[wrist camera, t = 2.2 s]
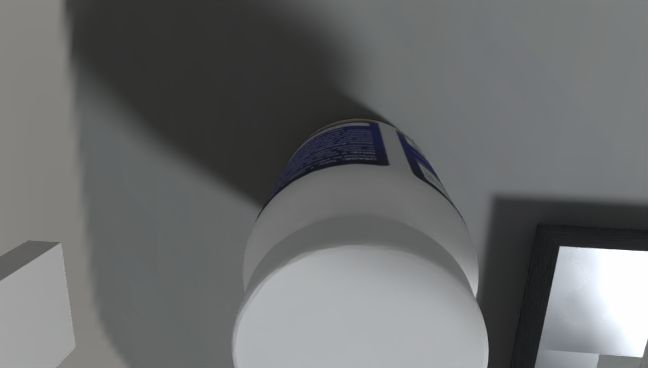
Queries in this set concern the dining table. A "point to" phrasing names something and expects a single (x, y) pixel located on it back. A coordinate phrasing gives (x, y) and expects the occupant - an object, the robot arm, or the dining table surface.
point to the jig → (583, 297)
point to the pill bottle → (359, 262)
